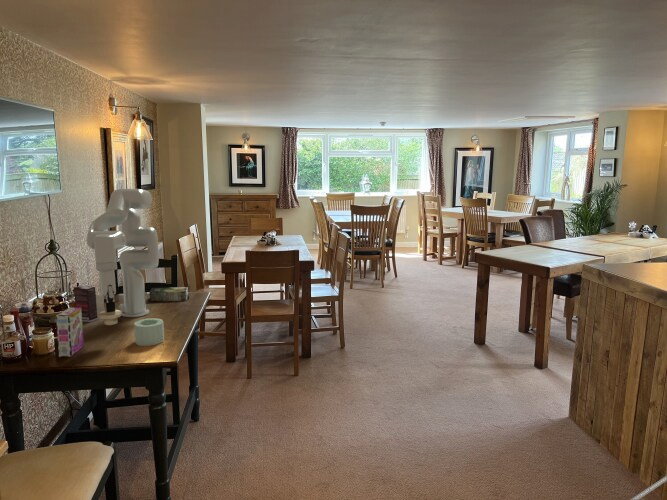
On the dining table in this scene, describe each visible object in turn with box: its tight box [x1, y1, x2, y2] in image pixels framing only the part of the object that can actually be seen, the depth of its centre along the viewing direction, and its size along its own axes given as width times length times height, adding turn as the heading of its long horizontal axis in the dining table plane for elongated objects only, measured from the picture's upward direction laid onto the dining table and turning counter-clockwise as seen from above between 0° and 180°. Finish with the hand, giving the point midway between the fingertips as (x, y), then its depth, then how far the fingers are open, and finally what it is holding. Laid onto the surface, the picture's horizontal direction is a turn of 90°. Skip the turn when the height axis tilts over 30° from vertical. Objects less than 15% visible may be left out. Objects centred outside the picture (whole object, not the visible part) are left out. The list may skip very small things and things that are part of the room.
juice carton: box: [149, 286, 190, 303], centre depth 262 cm, size 20×10×6 cm, turn 104°
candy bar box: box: [55, 307, 85, 358], centre depth 185 cm, size 11×5×16 cm, turn 5°
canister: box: [133, 317, 165, 347], centre depth 198 cm, size 11×11×8 cm
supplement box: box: [73, 285, 99, 323], centre depth 224 cm, size 9×5×16 cm, turn 71°
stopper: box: [98, 301, 122, 326], centre depth 193 cm, size 8×8×8 cm
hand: (109, 309), depth 193 cm, fingers closed on stopper, 4 cm apart
